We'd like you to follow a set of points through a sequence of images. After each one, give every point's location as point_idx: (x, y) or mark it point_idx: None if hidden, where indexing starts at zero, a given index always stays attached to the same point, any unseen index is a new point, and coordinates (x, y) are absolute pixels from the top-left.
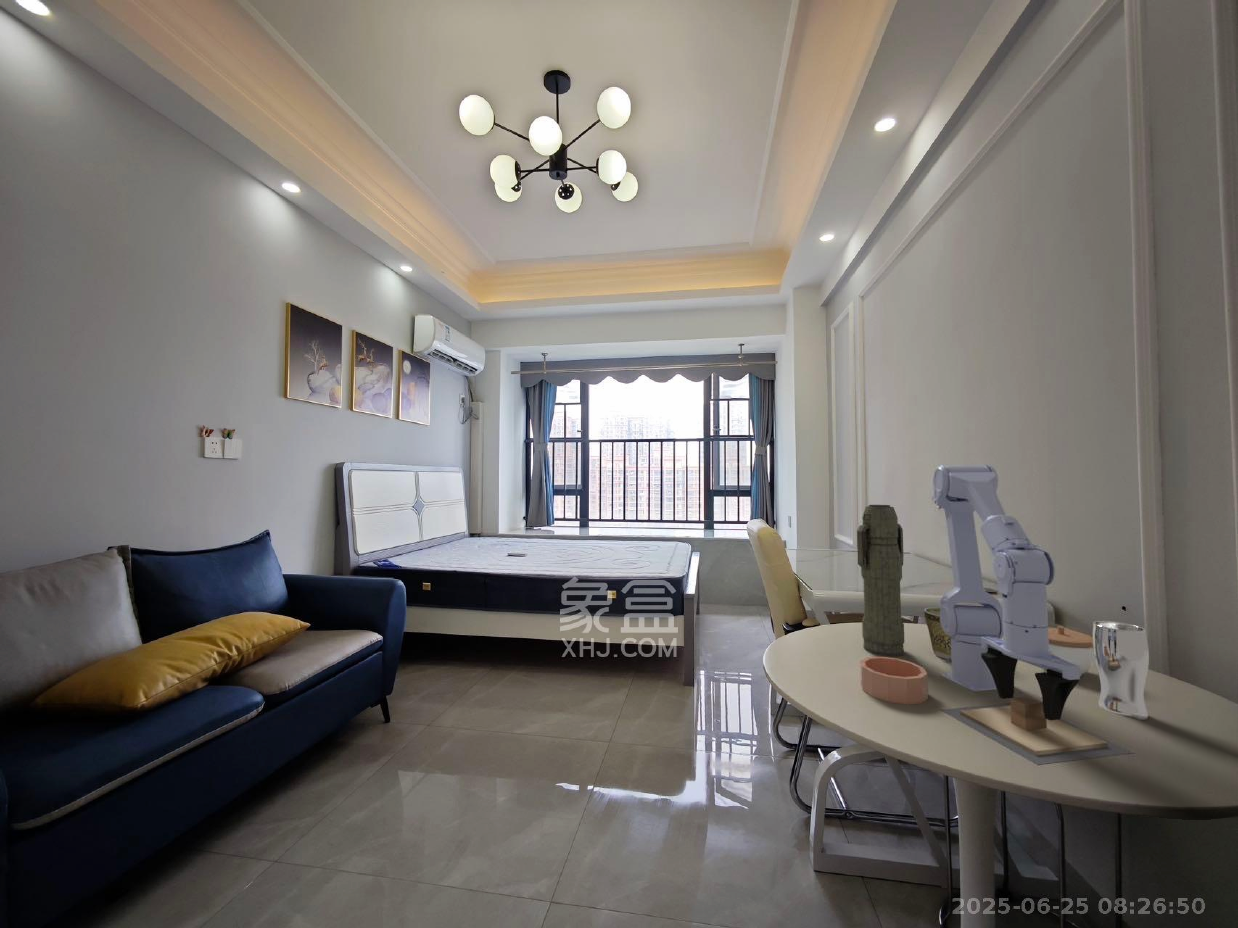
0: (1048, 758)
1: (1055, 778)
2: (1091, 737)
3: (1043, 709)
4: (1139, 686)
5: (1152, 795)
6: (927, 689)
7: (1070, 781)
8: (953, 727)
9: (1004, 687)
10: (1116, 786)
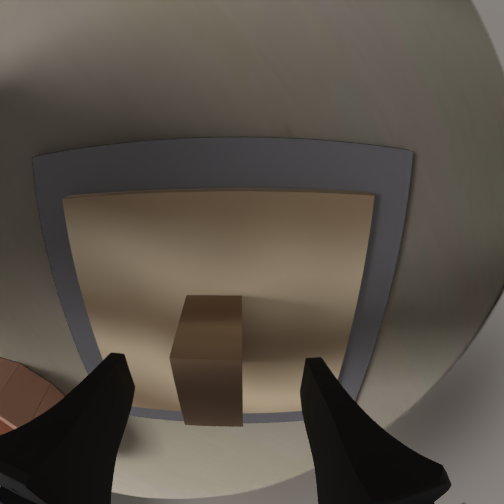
0: (345, 389)
1: (377, 404)
2: (333, 209)
3: (305, 421)
4: None
5: (476, 302)
6: (42, 404)
7: (394, 391)
8: (176, 429)
9: (120, 411)
10: (439, 336)
